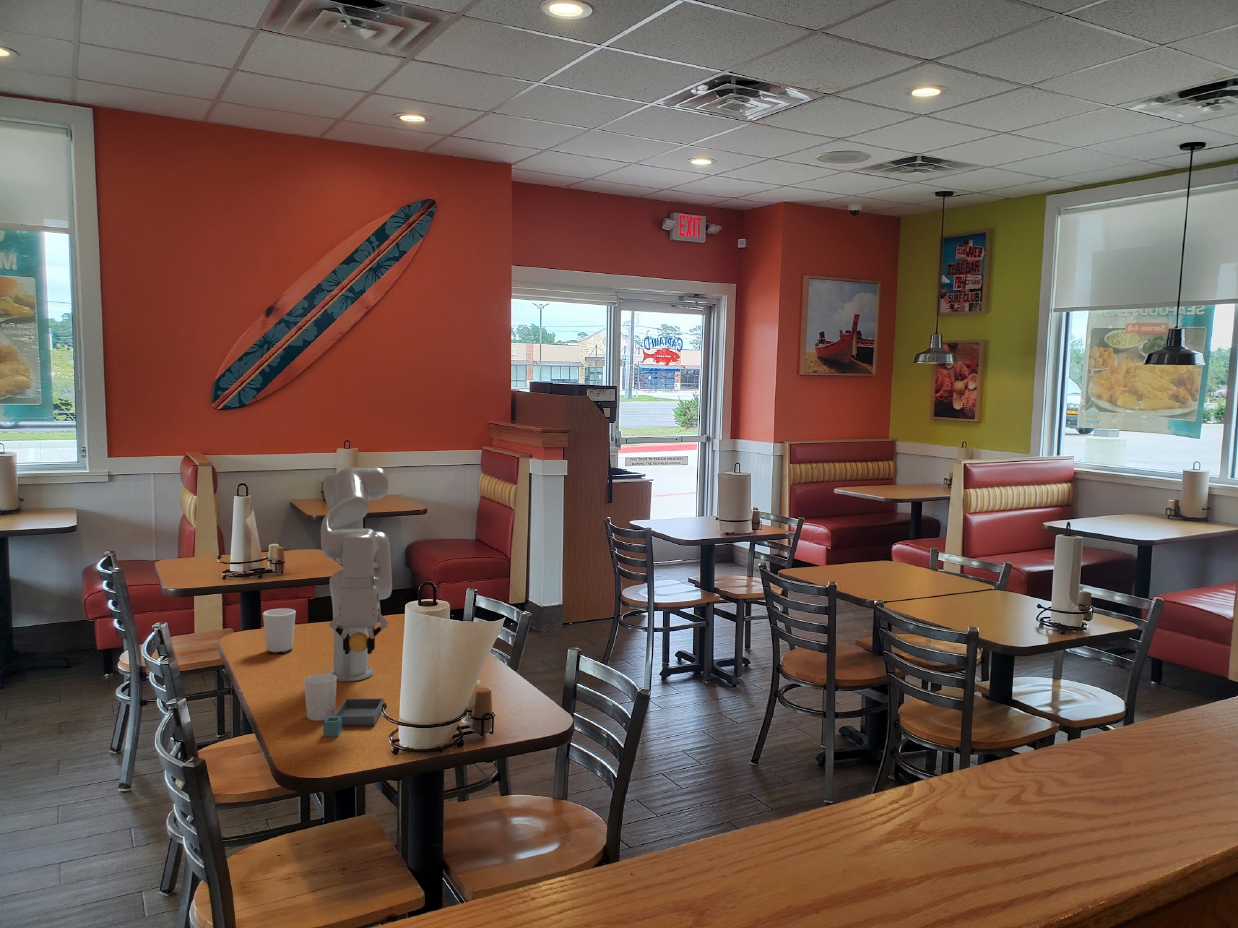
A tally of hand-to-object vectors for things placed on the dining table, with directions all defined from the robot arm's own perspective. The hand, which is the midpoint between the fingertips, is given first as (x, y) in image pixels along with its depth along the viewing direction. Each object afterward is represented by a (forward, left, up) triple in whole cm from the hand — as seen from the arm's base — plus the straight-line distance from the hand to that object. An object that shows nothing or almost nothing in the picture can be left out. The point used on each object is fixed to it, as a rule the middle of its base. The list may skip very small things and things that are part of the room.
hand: (359, 651), depth 224 cm
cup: (-59, -38, -17) cm, 72 cm away
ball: (0, 0, +3) cm, 3 cm away
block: (+11, -4, -17) cm, 21 cm away
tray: (0, 0, -17) cm, 17 cm away
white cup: (-1, -10, -17) cm, 20 cm away
